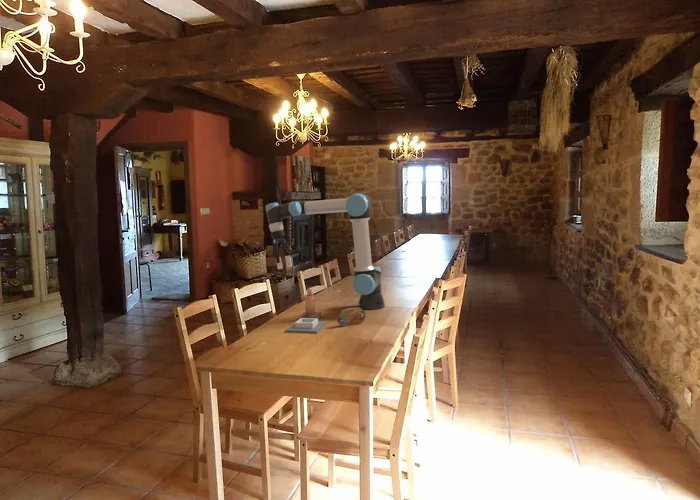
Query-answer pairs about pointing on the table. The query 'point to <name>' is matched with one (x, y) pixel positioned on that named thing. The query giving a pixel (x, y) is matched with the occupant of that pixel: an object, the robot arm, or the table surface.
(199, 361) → the table surface
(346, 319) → the tin
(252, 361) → the table surface
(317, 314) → the block
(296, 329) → the holder
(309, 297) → the bottle
